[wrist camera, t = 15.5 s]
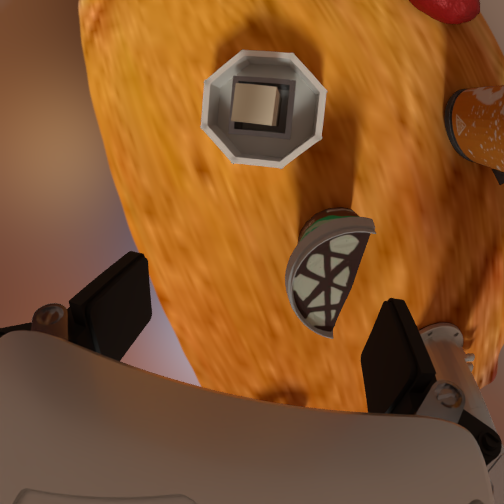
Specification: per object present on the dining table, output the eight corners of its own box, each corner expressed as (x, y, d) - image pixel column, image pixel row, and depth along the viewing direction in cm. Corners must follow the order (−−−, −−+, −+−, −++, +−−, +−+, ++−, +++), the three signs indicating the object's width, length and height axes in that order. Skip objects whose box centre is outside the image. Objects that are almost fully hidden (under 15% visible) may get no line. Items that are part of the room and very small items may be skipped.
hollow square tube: (295, 86, 25) (296, 80, 21) (290, 138, 28) (290, 139, 24) (241, 82, 26) (233, 75, 22) (237, 132, 28) (228, 133, 24)
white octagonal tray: (325, 67, 24) (330, 57, 20) (314, 167, 29) (317, 174, 25) (218, 59, 26) (206, 49, 21) (211, 156, 30) (198, 161, 26)
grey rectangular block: (282, 99, 26) (276, 87, 18) (278, 126, 27) (271, 125, 19) (253, 95, 26) (235, 83, 18) (249, 122, 28) (231, 121, 19)
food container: (301, 182, 30) (304, 207, 21) (354, 196, 30) (378, 227, 21) (277, 278, 36) (270, 330, 27) (324, 289, 35) (331, 342, 26)
